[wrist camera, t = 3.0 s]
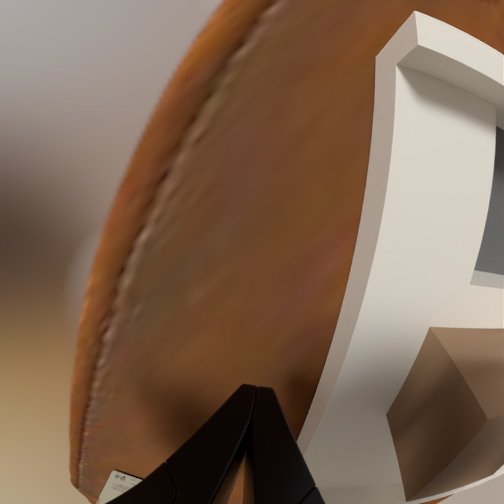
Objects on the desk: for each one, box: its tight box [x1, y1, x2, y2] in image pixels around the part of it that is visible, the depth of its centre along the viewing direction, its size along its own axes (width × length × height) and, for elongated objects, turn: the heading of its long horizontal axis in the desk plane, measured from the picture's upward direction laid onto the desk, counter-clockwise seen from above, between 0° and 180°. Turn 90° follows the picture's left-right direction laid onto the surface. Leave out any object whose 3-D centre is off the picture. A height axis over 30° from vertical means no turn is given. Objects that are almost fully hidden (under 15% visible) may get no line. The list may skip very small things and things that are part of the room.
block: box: [386, 327, 504, 502], centre depth 6 cm, size 4×4×4 cm
